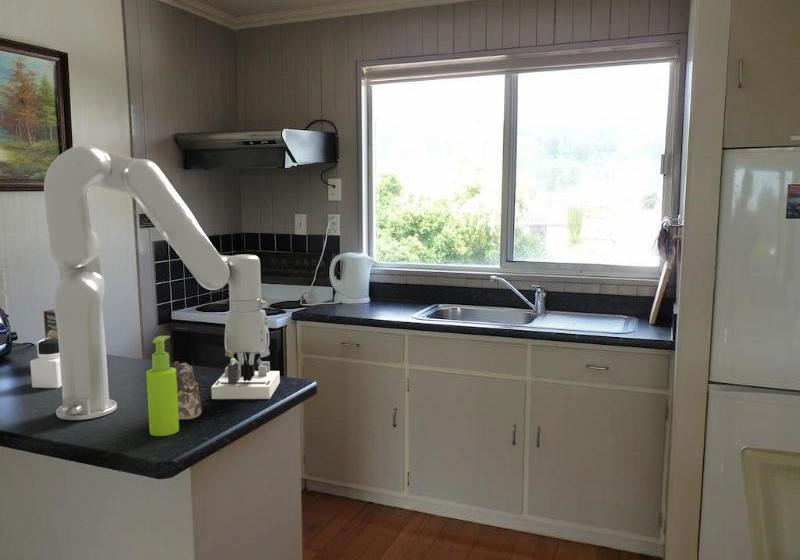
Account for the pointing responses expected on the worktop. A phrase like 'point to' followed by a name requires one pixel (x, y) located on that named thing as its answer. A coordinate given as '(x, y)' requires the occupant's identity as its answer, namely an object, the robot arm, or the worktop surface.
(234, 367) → the slider knob
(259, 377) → the panel
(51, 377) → the medicine bottle
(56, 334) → the coffee box
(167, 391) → the soap dispenser
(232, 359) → the push button
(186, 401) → the figurine
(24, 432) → the worktop surface
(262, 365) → the toggle lever
